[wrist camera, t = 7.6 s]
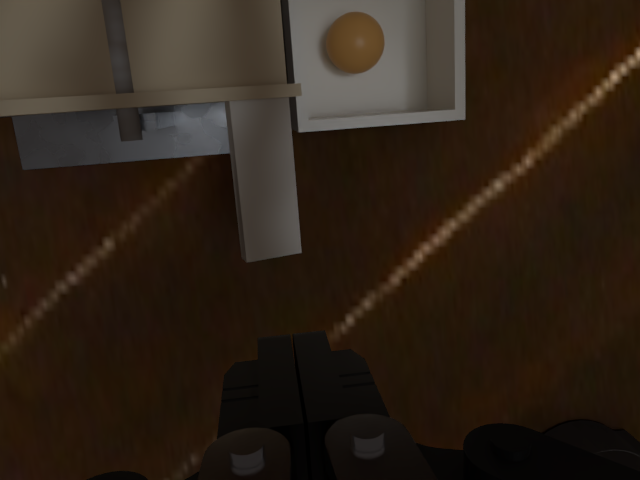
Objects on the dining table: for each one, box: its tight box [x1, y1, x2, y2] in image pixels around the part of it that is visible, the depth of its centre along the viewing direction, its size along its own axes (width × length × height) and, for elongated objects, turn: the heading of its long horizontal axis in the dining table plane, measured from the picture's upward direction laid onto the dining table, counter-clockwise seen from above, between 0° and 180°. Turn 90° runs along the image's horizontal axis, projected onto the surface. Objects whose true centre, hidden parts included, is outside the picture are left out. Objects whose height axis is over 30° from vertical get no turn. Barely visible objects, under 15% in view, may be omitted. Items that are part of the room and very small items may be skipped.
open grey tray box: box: [281, 0, 465, 132], centre depth 32 cm, size 10×10×6 cm
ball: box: [326, 11, 385, 74], centre depth 32 cm, size 4×4×4 cm
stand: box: [12, 102, 230, 170], centre depth 29 cm, size 16×12×8 cm
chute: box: [0, 0, 302, 262], centre depth 25 cm, size 16×15×4 cm
